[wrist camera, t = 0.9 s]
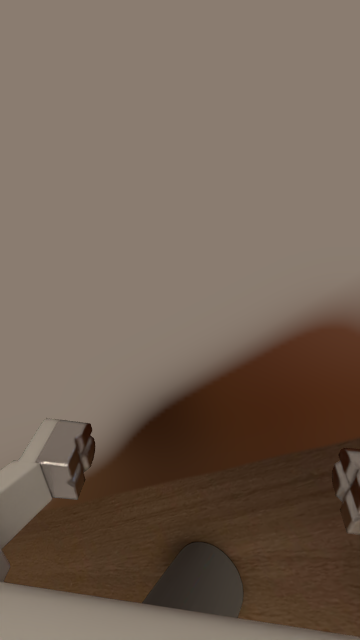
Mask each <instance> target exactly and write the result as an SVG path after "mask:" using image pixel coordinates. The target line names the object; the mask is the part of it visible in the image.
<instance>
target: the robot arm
mask: <svg viewBox="0 0 360 640" xmlns="http://www.w3.org/2000/svg"><path fill="white" fill-rule="evenodd" d="M91 432H92V427H91V424H89V423H81V422H73V421H66V420H57V419H45V420H44V421H43V422H42V423H41V425H40V426H39V428H38V430H37V431H36V433H35V434H34V436H33V438H32V440H31V441H30V443H29V444H28V446H27V448H26V449H25V451H24V452H23V454H22V456H21V457H20V459H19V461H16V460H14V461H13V462H11V463H10V464H8V465H7V466H5V467H4V468H2V469H1V470H0V640H360V637H357V636H351V635H344V634H337V633H331V632H324V631H318V630H311V629H305V628H298V627H292V626H285V625H279V624H272V623H266V622H259V621H253V620H246V619H240V618H233V617H227V616H220V615H214V614H207V613H201V612H194V611H188V610H181V609H175V608H168V607H162V606H155V605H149V604H142V603H136V602H129V601H123V600H116V599H109V598H103V597H96V596H90V595H83V594H77V593H70V592H64V591H57V590H51V589H44V588H38V587H31V586H25V585H18V584H12V583H5V582H3V581H4V579H5V577H6V575H7V573H8V571H9V569H10V564H9V561H8V559H7V558H6V556H5V555H4V553H3V552H2V550H1V549H2V548H3V547H4V546H5V545H6V544H7V543H8V542H9V541H10V540H11V539H12V538H13V537H14V536H15V535H16V534H17V533H18V532H19V531H20V530H21V529H22V528H23V527H24V526H25V525H26V524H27V523H28V522H29V521H30V520H32V519H33V518H34V517H35V516H36V515H37V514H38V513H39V512H40V511H41V510H42V509H43V508H44V507H45V506H46V505H47V504H48V503H49V502H50V501H51V500H52V497H54V498H65V499H76V500H78V497H79V495H80V492H81V490H82V487H83V485H84V482H85V477H84V472H85V471H86V470H88V469H89V468H90V467H91V464H92V461H93V458H94V453H95V441H94V438H93V437H92V436H90V434H91ZM339 458H340V461H339V462H337V463H335V465H334V467H333V470H332V482H333V488H334V491H335V495H336V496H337V497H338V498H339V499H340V500H341V501H342V502H343V504H342V506H341V508H340V512H341V515H342V518H343V522H344V525H345V528H346V532H347V533H351V534H357V535H360V449H352V448H343V449H341V450H340V453H339Z"/></svg>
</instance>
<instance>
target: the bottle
mask: <svg viewBox="0 0 360 640" xmlns="http://www.w3.org/2000/svg"><path fill="white" fill-rule="evenodd" d="M242 601H243V586H242V581H241V579H240V576H239V573H238V571H237V569H236V567H235V566H234V564H233V563H232V561H231V560H230V559H229V558H228V557H227V556H226V555H225V554H224V553H223V552H222V551H221V550H219V549H218V548H216V547H215V546H213V545H210V544H208V543H203V542H195V543H191V544H189V545H187V546H186V547H184V548H183V549H182V550H181V551H180V553H179V554H178V555H177V557H176V558H175V559H174V560H173V562H172V563H171V564H170V566H169V567H168V568H167V570H166V571H165V572H164V574H163V575H162V577H161V578H160V579H159V581H158V582H157V583H156V585H155V586H154V587H153V589H152V590H151V592H150V593H149V594H148V596H147V597H146V598H145V600H144V601H143V602H142V604H149V605H155V606H162V607H168V608H175V609H181V610H188V611H194V612H201V613H207V614H214V615H220V616H227V617H233V618H238V615H239V612H240V609H241V605H242Z"/></svg>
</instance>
